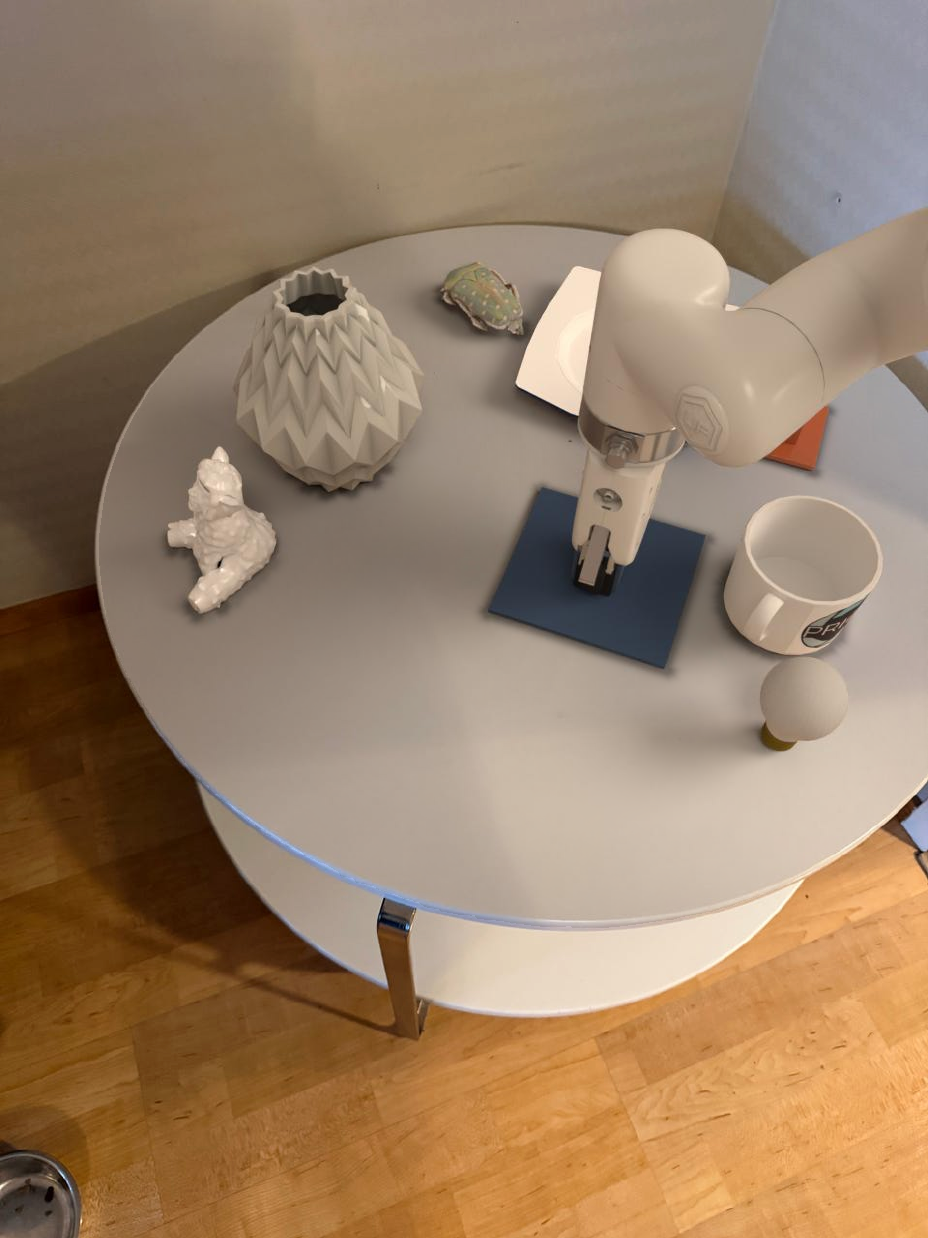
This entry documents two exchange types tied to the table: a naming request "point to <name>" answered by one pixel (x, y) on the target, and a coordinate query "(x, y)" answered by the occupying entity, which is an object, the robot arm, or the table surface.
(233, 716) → the table surface
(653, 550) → the navy blue mat
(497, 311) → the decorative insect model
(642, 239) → the robot arm
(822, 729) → the light bulb
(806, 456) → the terracotta tile
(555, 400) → the plate
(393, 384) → the vase
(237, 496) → the sitting furry creature
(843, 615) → the mug
